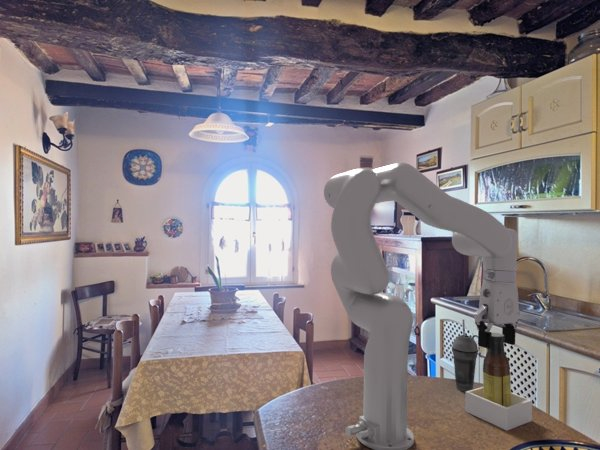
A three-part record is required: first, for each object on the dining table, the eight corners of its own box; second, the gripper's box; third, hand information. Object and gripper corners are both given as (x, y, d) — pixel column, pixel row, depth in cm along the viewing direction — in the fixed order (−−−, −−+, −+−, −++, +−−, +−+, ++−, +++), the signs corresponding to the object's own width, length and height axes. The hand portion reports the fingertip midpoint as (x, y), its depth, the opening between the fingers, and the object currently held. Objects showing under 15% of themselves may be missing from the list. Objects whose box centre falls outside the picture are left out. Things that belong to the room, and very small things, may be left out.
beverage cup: (457, 393, 113) (458, 323, 113) (447, 383, 120) (448, 317, 121) (482, 393, 113) (483, 323, 114) (470, 383, 121) (471, 317, 121)
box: (506, 430, 92) (506, 409, 92) (465, 411, 102) (465, 391, 102) (531, 420, 97) (532, 400, 98) (490, 403, 107) (490, 384, 107)
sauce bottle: (505, 409, 102) (505, 331, 103) (515, 420, 96) (516, 338, 96) (478, 407, 103) (479, 330, 103) (487, 418, 97) (488, 336, 97)
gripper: (491, 279, 93) (488, 353, 92) (533, 278, 101) (531, 345, 101) (463, 275, 99) (461, 344, 99) (505, 275, 108) (503, 338, 107)
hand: (496, 345), depth 100 cm, fingers open, 9 cm apart
